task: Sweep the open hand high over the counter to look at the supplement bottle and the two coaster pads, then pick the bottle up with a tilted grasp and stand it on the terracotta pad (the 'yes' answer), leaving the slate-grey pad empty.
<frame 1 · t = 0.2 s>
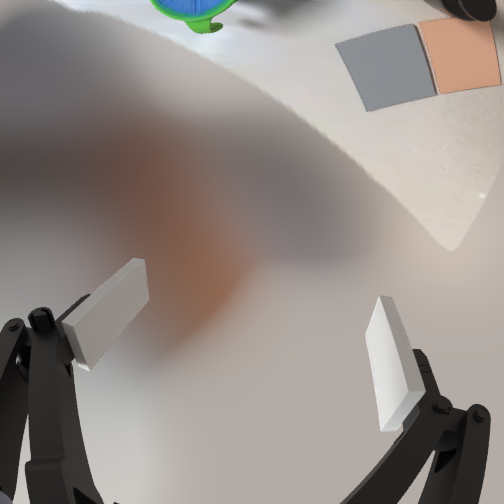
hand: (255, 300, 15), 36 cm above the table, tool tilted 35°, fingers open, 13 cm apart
slate pad: (388, 67, 31), on the table
terracotta pad: (463, 52, 24), on the table
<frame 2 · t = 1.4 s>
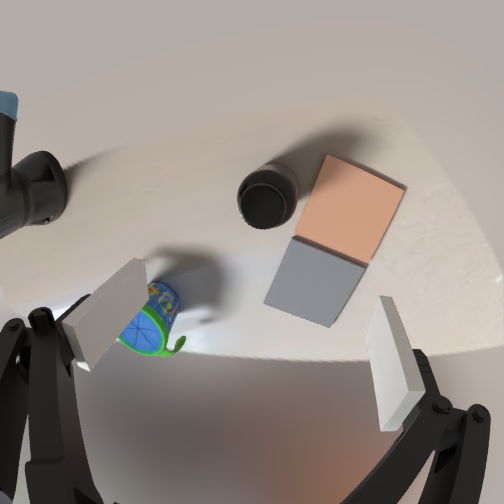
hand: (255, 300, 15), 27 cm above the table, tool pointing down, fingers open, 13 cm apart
supplement bottle: (274, 186, 40), on the table
slate pad: (312, 284, 44), on the table
snack cup: (162, 297, 51), on the table
terracotta pad: (349, 210, 39), on the table
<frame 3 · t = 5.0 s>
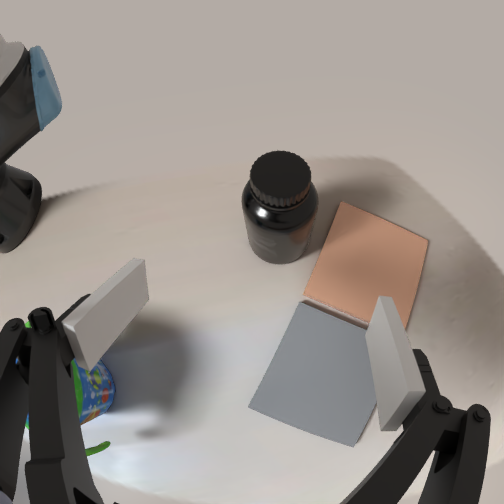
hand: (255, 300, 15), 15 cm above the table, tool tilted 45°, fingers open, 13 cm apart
supplement bottle: (278, 237, 33), on the table
slate pad: (327, 377, 27), on the table
snack cup: (92, 384, 28), on the table
terracotta pad: (371, 267, 31), on the table
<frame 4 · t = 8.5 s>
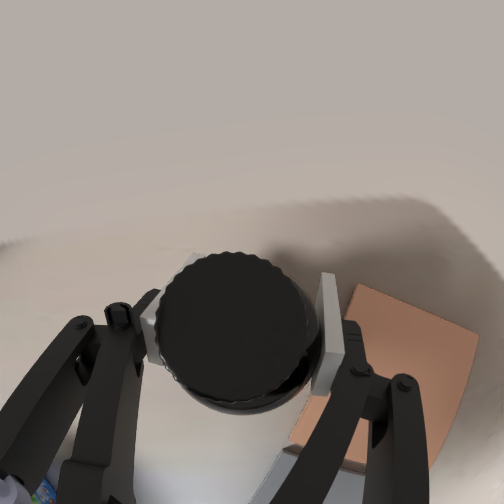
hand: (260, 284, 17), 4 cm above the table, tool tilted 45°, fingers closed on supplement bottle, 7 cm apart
supplement bottle: (254, 347, 20), on the table, touching gripper
snack cup: (39, 490, 14), on the table
terracotta pad: (396, 388, 17), on the table
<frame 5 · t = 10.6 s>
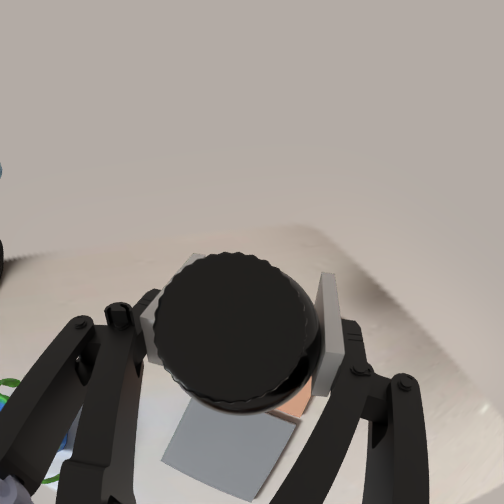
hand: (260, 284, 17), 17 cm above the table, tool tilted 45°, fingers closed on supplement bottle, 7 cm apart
supplement bottle: (253, 347, 20), point 13 cm above the table, touching gripper
slate pad: (226, 445, 28), on the table
snack cup: (52, 427, 29), on the table
terracotta pad: (273, 351, 32), on the table
when the fingers open (6 cm above the table, at t = 13.0 s): supplement bottle drops 1 cm, resting on terracotta pad.
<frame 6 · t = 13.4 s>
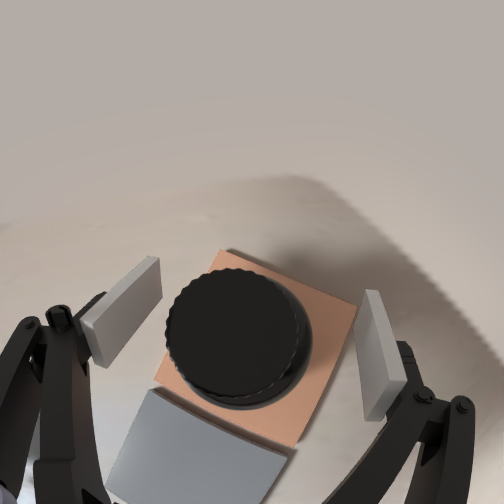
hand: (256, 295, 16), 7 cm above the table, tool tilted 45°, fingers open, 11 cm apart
supplement bottle: (253, 349, 21), point 1 cm above the table, touching terracotta pad
slate pad: (187, 478, 18), on the table
terracotta pad: (256, 348, 21), on the table
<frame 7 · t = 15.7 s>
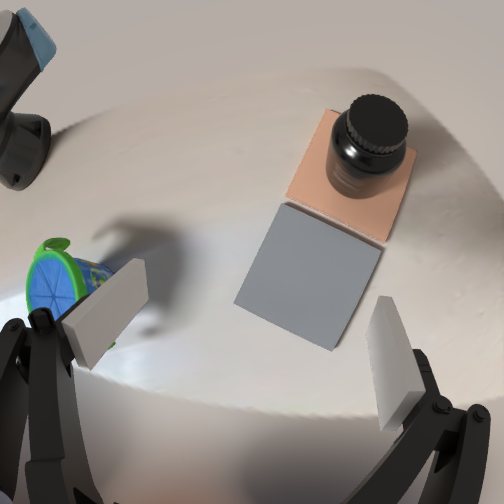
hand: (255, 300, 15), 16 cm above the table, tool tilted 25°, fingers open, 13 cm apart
supplement bottle: (354, 171, 30), point 1 cm above the table, touching terracotta pad
slate pad: (308, 277, 31), on the table
snack cup: (102, 292, 36), on the table
terracotta pad: (355, 172, 30), on the table
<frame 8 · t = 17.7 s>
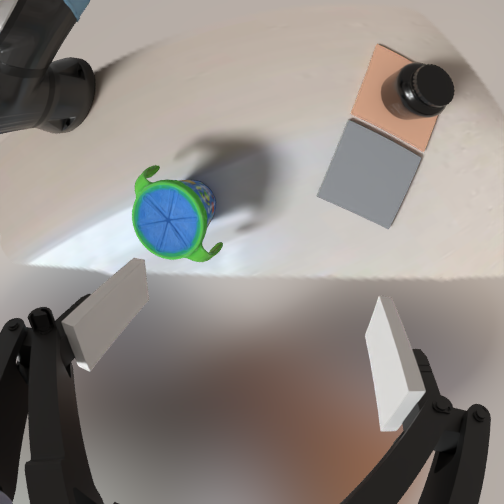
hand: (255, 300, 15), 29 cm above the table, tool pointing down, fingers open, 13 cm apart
supplement bottle: (401, 96, 32), point 1 cm above the table, touching terracotta pad
slate pad: (370, 175, 38), on the table
snack cup: (194, 202, 45), on the table
terracotta pad: (401, 97, 32), on the table
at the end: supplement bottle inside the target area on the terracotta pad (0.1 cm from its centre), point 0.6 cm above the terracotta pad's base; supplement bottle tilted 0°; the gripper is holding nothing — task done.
